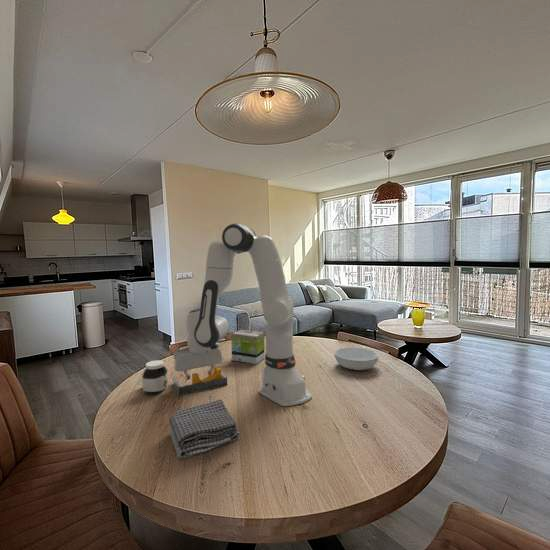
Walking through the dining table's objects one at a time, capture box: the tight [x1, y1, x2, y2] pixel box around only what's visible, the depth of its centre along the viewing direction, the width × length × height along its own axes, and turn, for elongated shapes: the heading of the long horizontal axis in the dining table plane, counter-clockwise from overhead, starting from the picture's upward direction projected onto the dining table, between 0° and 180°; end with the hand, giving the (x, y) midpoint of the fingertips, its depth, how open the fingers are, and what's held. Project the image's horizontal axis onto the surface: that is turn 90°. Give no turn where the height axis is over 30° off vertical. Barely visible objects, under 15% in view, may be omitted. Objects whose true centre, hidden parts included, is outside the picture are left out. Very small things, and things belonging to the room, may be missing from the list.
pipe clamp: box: [191, 367, 222, 385], centre depth 127 cm, size 12×4×6 cm, turn 126°
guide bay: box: [172, 371, 228, 396], centre depth 128 cm, size 13×20×3 cm, turn 118°
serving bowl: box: [334, 346, 379, 371], centre depth 146 cm, size 21×21×7 cm
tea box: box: [230, 329, 265, 365], centre depth 157 cm, size 15×10×15 cm, turn 67°
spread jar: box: [140, 360, 169, 395], centre depth 123 cm, size 12×11×12 cm
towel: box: [169, 399, 240, 460], centre depth 90 cm, size 15×18×8 cm
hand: (199, 376), depth 129 cm, fingers open, 8 cm apart
